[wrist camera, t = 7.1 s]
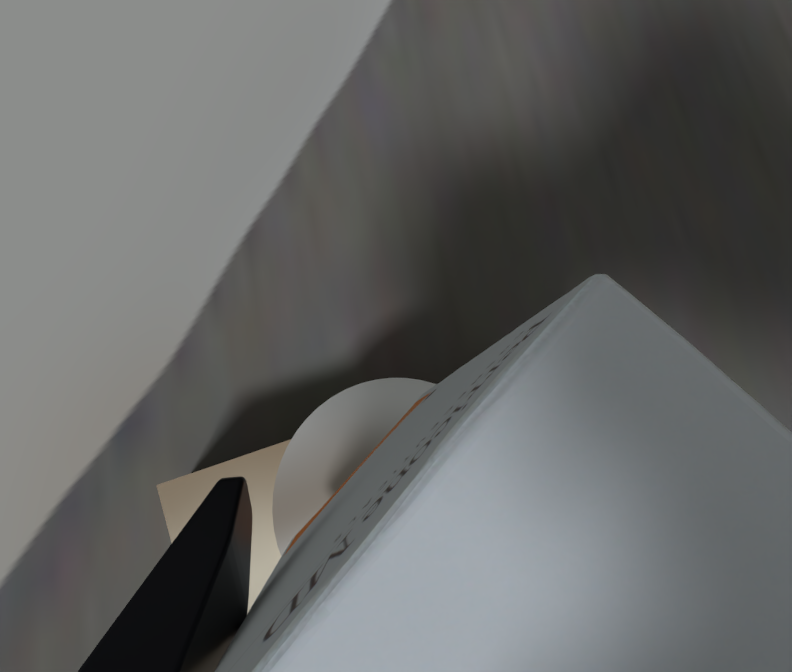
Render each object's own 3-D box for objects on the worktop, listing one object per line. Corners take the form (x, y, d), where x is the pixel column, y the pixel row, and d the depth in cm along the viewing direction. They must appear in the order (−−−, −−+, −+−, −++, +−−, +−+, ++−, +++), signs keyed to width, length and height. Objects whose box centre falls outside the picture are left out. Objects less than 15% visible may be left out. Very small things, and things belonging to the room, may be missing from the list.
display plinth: (657, 711, 20) (724, 768, 17) (298, 884, 18) (288, 992, 15) (514, 340, 23) (547, 321, 19) (180, 452, 20) (146, 454, 17)
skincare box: (421, 388, 17) (613, 242, 5) (525, 484, 16) (986, 566, 5) (280, 543, 15) (92, 842, 4) (390, 651, 15) (568, 1343, 3)
